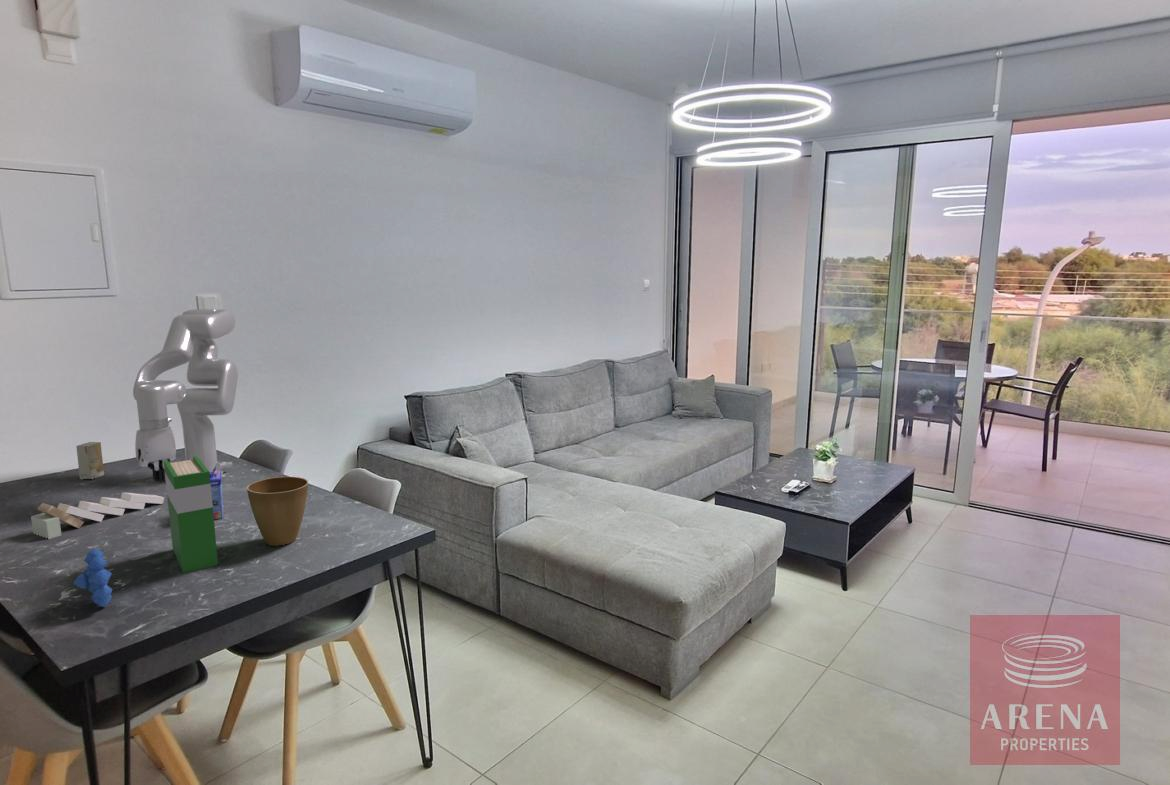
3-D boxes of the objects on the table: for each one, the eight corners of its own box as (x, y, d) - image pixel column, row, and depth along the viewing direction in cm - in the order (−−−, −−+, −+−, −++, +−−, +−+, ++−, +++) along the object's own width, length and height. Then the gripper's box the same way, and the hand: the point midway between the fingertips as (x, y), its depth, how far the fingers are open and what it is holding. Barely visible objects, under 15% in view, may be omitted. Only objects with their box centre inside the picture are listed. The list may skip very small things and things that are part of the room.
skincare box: (91, 480, 228) (87, 446, 226) (79, 480, 228) (75, 445, 226) (105, 474, 235) (101, 441, 233) (93, 474, 235) (89, 441, 233)
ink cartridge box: (224, 518, 193) (219, 471, 191) (202, 521, 191) (197, 473, 188) (224, 508, 202) (220, 462, 200) (204, 511, 200) (199, 465, 197)
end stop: (46, 530, 183) (43, 513, 183) (61, 535, 180) (59, 518, 179) (33, 533, 181) (30, 516, 180) (48, 539, 177) (46, 521, 176)
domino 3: (115, 506, 198) (80, 500, 189) (125, 509, 196) (89, 503, 187) (112, 512, 197) (77, 507, 189) (122, 515, 195) (87, 510, 186)
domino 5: (155, 495, 208) (122, 492, 199) (164, 497, 206) (131, 494, 197) (153, 501, 208) (120, 498, 199) (162, 503, 205) (129, 501, 197)
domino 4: (135, 500, 203) (101, 497, 194) (145, 502, 201) (111, 499, 192) (133, 506, 203) (99, 503, 194) (143, 509, 200) (108, 506, 192)
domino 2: (94, 512, 193) (59, 502, 185) (104, 515, 191) (69, 505, 182) (91, 518, 192) (56, 509, 184) (101, 521, 190) (65, 512, 182)
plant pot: (282, 555, 168) (277, 495, 165) (238, 547, 173) (233, 488, 170) (324, 534, 182) (320, 479, 179) (282, 527, 187) (278, 473, 184)
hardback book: (172, 549, 171) (163, 460, 167) (205, 542, 176) (196, 456, 172) (183, 573, 158) (173, 477, 154) (218, 565, 162) (209, 471, 158)
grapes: (72, 600, 144) (65, 548, 142) (109, 590, 149) (103, 540, 147) (81, 619, 136) (74, 565, 134) (120, 608, 141) (114, 555, 139)
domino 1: (74, 519, 188) (42, 502, 181) (84, 522, 186) (51, 505, 179) (69, 525, 187) (36, 509, 180) (79, 528, 185) (46, 512, 178)
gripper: (170, 418, 212) (176, 473, 215) (121, 427, 198) (127, 486, 202) (185, 421, 208) (190, 476, 211) (135, 430, 195) (142, 489, 198)
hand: (159, 481), depth 207 cm, fingers closed
